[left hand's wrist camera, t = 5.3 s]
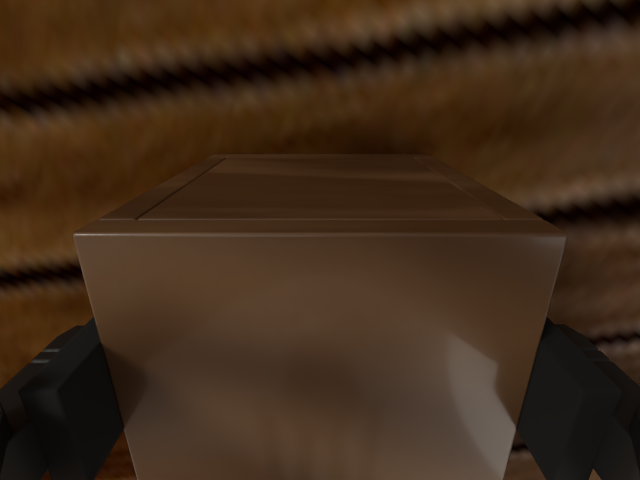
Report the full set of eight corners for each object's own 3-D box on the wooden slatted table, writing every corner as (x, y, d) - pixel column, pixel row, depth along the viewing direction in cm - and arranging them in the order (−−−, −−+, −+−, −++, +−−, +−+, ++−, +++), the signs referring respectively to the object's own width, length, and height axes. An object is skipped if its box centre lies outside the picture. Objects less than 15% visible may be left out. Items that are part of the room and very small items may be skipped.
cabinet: (395, 455, 25) (446, 698, 15) (244, 455, 25) (193, 697, 15) (428, 153, 17) (571, 233, 7) (212, 153, 17) (69, 232, 7)
